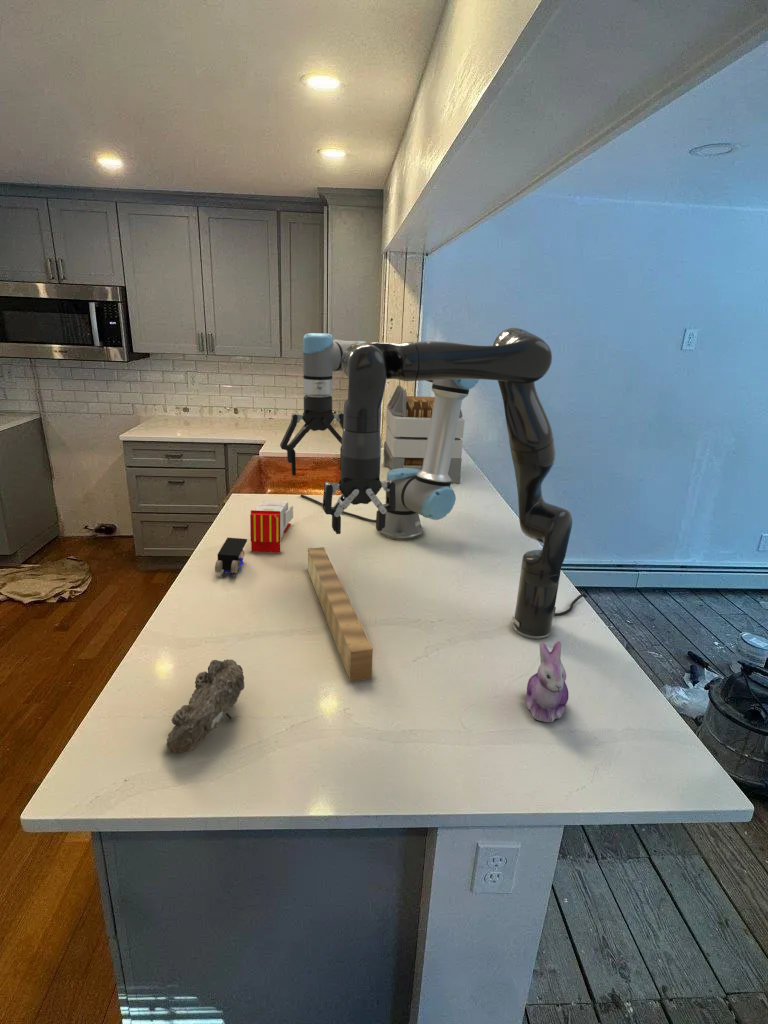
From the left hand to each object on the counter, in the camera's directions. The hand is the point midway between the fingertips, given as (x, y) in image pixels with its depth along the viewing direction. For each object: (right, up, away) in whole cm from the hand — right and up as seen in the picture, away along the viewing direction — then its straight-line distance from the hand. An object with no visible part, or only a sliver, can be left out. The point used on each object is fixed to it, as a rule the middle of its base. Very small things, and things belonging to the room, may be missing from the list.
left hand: (318, 472), depth 156 cm
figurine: (+51, -51, -42) cm, 83 cm away
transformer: (+35, +8, +119) cm, 124 cm away
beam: (+5, -37, -11) cm, 39 cm away
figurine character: (-27, -28, +12) cm, 40 cm away
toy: (-20, -19, +36) cm, 46 cm away
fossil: (-15, -50, -48) cm, 71 cm away
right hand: (+13, -15, -43) cm, 47 cm away
